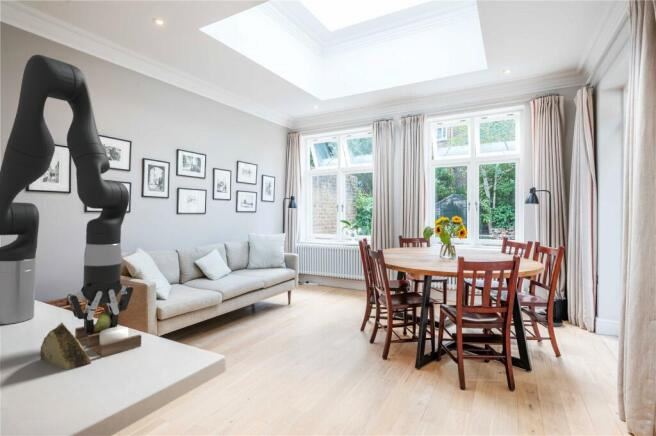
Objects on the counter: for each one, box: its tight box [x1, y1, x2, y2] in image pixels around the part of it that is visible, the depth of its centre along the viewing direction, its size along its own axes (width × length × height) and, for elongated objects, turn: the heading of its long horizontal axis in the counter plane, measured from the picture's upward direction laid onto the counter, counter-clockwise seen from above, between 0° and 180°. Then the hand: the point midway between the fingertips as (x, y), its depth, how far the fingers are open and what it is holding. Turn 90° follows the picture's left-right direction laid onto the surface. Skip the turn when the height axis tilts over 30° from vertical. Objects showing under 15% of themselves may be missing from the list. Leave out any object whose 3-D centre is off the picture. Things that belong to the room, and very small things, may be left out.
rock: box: [39, 322, 92, 370], centre depth 70 cm, size 11×9×10 cm
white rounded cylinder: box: [100, 326, 129, 347], centre depth 77 cm, size 6×6×4 cm
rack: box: [74, 323, 142, 358], centre depth 79 cm, size 16×8×4 cm, turn 54°
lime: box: [93, 311, 111, 333], centre depth 81 cm, size 4×5×5 cm
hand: (100, 331), depth 82 cm, fingers closed on lime, 4 cm apart
